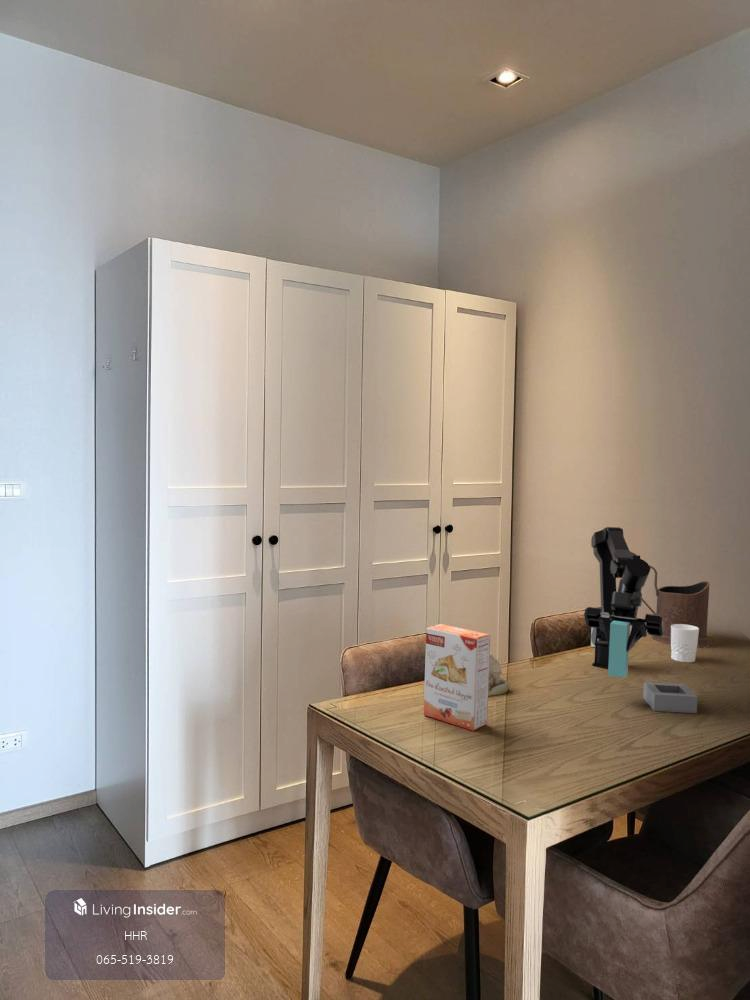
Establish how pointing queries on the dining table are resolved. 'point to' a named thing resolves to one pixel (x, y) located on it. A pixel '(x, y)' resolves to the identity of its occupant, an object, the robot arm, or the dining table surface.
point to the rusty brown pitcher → (682, 609)
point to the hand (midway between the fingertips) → (618, 649)
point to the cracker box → (457, 676)
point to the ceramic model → (496, 678)
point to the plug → (618, 649)
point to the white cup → (684, 642)
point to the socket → (670, 697)
